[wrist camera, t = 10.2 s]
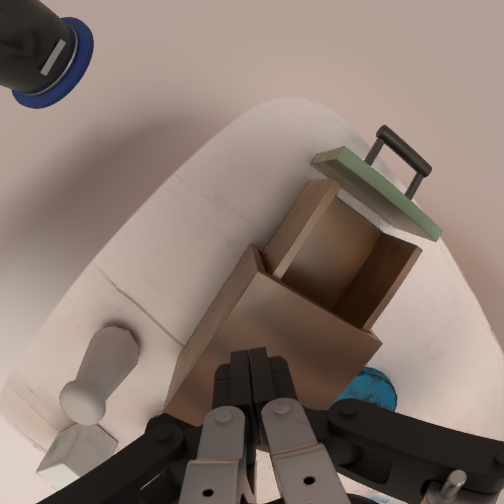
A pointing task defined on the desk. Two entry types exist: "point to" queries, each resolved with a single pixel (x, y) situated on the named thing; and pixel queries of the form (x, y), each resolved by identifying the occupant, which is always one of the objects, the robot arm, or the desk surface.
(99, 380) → the salt shaker
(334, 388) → the cabinet
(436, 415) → the desk surface
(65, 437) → the cosmetics box
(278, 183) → the desk surface
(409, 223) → the drawer
